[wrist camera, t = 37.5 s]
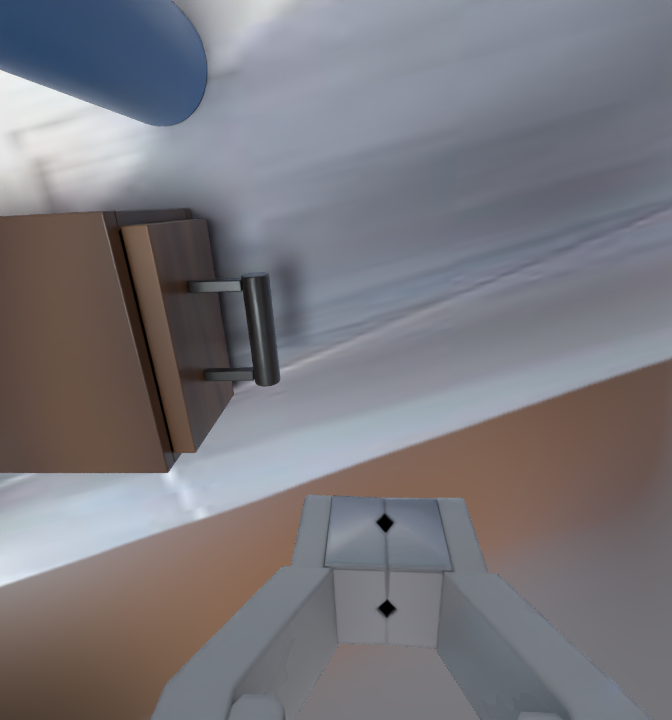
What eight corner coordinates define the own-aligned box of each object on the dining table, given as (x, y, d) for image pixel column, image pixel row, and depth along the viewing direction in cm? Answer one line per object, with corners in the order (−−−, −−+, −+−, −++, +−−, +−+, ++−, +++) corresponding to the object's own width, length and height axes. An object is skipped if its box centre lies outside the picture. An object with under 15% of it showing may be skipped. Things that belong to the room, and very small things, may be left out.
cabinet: (190, 208, 23) (102, 210, 15) (222, 396, 28) (168, 473, 20) (-44, 219, 24) (-240, 228, 16) (24, 399, 29) (-102, 473, 21)
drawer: (277, 214, 22) (245, 219, 16) (294, 393, 27) (274, 452, 20) (-19, 229, 24) (-157, 238, 17) (42, 397, 28) (-51, 454, 22)
